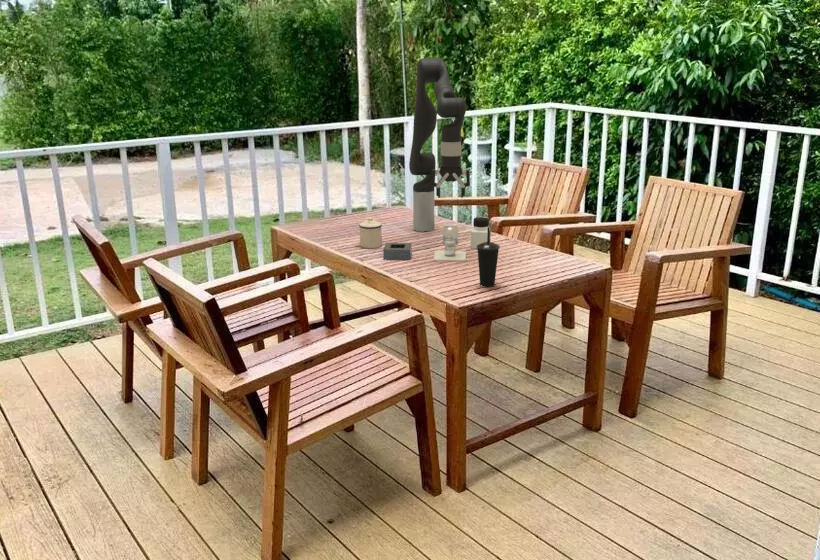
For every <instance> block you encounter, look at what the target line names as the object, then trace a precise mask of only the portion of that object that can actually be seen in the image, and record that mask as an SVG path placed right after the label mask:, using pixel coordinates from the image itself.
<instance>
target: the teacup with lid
mask: <svg viewBox="0 0 820 560" xmlns="http://www.w3.org/2000/svg"><path fill="white" fill-rule="evenodd" d="M358 227H359V244H360V247H361V248H363V249H378V248H380V247H382V242H383V241H382V240H383V237H382V227H383V225H382V223H381V222H380V221H377V220H375V219H374V218H373V217H370V216H369V217H367V219H365V220H364V221H362V222H360V223H359V226H358Z"/></svg>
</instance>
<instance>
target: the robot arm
mask: <svg viewBox="0 0 820 560" xmlns="http://www.w3.org/2000/svg"><path fill="white" fill-rule="evenodd" d="M431 83H432V84H433V83H435V85H434V87H433V95H434V97H435V99H436V102H437V105H436V106H435V104H434V103H433V101H432V100H431V99H430V96H429V94H428V92H427V89H426V84H431ZM415 91H416V94H415V95H416V96H415V106H414V113H413V127H412V128H413V130H412V132H413V133H412V143H411V148H410V149H411V150H410V154H409V155H410V156H409V164H408V165H409V167H408V168H409V172H410V174H411V175H413V176H425V177H424V178H422V179H421V180H420V181H418V182H415V183H414V184H413V186H412V200H413V201H412V203H413V204H412V206H413V217H412V218H413V219H412V220H413V221H412V222H413V225H412V226H413V227H412V228H413V231H415V230H416V231H415V232H424V231H427V232H432V230H433V231H434V230H435V195H436V197H437V198H438V199H439V198H441V186H442V184H443V183H444V182H447V183H449V182H452V183H454V182H457V183H458V184H459V185H460V188H461V189H460V195H461V196H460V198H461V199H462V198H463V199H464V197H465V196H466V188H467V187H470V186H471V181H470V180H471V177H470V169H468V168H466V169H462V141H461V140H462V137H461V136H462V127H463V123H464V118H465V117H466V111H467V103H466V100H465V99H464V98H463V97H457V96H456V92H455V90H454V89H453V86H452V84H451V81H450V76H449V73H448V68H447V65H446V62H445V61H444V59H443V58H440V57H434V58H433V57H430V58H429V57H425V58H419V59H418V62H417V65H416V90H415ZM437 116H439V117H440V118H442V119H454V120H453V121H452V122H450V123H447V124H445V125H442V127H441V142H440V169H436V157H435V154H434V153H433V152H425V153H424V152H423V153H421V151H422V148H423V146H424V145H425V143H426V142H427V141H428V140H429V139H430V137H431V136H432V135H433V134H434V131H435V130H436V127H437V120H438V119H437V118H438V117H437ZM438 174H439V175H440V177H441V178H440V179H439V180H438V182H436V176H438ZM462 174H463V175H464V176H465V178H466V182H465V183H464V181H463V180H462V179H461V176H462ZM435 188H436V189H435ZM435 190H436V191H435ZM435 192H436V193H435Z"/></svg>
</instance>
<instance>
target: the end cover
mask: <svg viewBox="0 0 820 560" xmlns="http://www.w3.org/2000/svg"><path fill="white" fill-rule="evenodd" d="M458 234H459V226H456V225H443V227H442V246H443V245H444V251H445V256H448V257H453V256H455V251H456V246H457V245H458V243H459V242H458V241H459V237H458V236H459V235H458Z"/></svg>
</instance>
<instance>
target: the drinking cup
mask: <svg viewBox="0 0 820 560" xmlns="http://www.w3.org/2000/svg"><path fill="white" fill-rule="evenodd" d="M490 229H491V228H490V226H489V227H488V233H487V242H483V243H481V244H478V245H477V249H476V250H477V259H478V274H479V275H478V276H479V286H480V285H482V286H493V285H494V286H495V284H496V283H495V282H496V276H497V275H496V273H497V267H498V260H499V259H498V258H499V249H500V248H501V247H500V244H498V243H495V242H494V241H493V242H492V241H490V242H489V235H490V236H491V233H490ZM482 286H481V287H482ZM494 286H493V287H494Z"/></svg>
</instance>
